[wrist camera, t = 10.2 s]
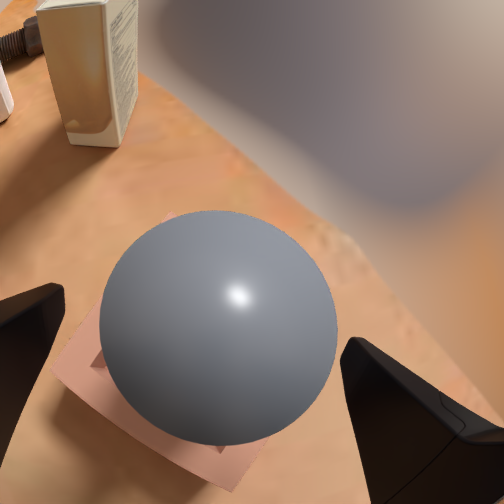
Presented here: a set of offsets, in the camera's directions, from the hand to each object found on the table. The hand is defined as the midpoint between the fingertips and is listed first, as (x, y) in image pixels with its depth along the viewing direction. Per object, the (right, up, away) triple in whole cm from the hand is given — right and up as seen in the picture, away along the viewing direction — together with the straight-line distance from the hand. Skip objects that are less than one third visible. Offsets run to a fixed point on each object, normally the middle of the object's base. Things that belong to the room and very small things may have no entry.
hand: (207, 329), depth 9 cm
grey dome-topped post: (-2, -3, +8) cm, 8 cm away
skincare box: (-10, +13, +13) cm, 21 cm away
